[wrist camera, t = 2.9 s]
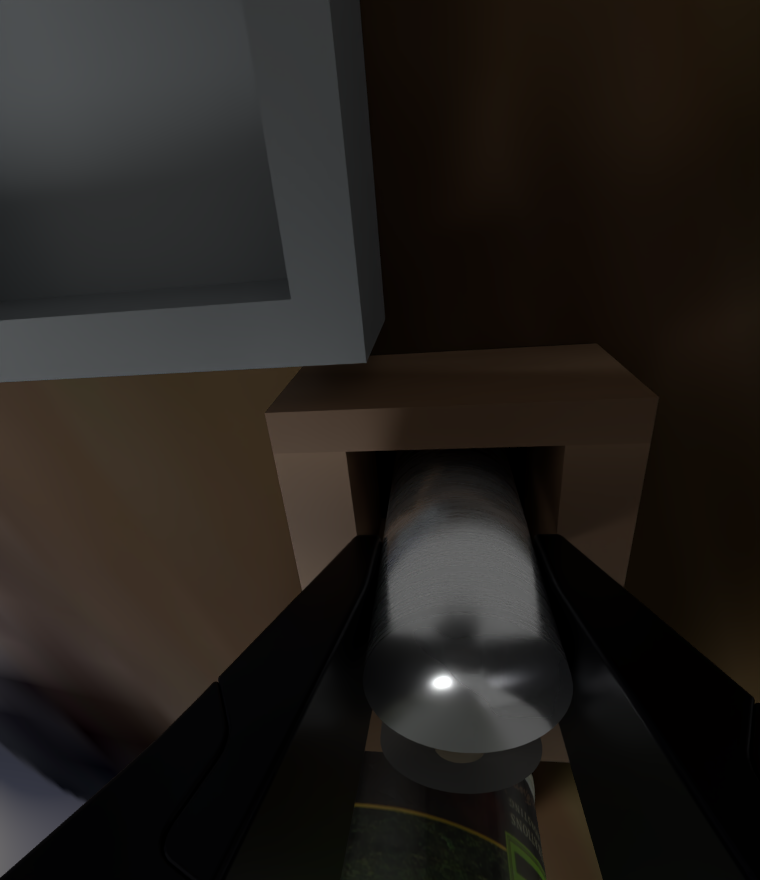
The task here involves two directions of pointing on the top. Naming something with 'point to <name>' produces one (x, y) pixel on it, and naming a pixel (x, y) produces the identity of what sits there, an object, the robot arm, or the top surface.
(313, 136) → the pin tray
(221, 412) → the top surface
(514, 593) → the pin
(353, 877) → the coffee can
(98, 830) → the robot arm
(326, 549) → the block
